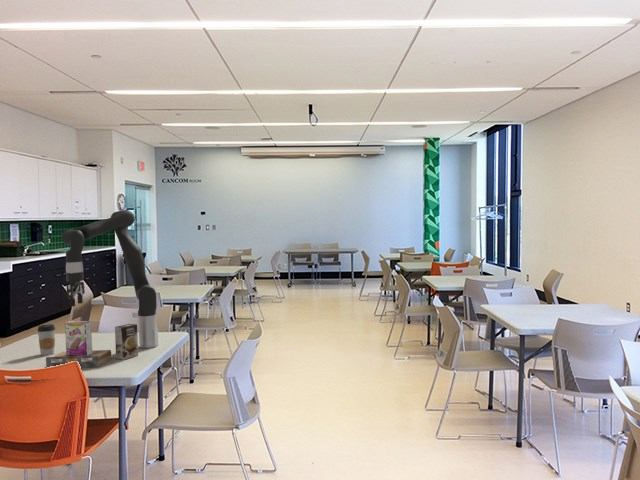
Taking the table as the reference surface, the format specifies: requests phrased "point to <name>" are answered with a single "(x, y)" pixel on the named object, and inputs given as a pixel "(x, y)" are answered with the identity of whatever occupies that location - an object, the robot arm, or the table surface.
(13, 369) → the table surface
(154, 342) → the robot arm
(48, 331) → the coffee cup
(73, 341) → the candy bar box
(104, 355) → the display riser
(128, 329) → the coffee box
